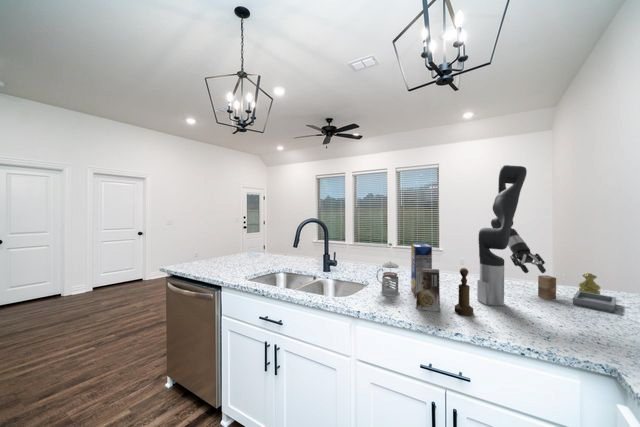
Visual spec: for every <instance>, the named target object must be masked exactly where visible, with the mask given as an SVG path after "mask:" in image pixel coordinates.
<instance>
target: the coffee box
mask: <svg viewBox="0 0 640 427" xmlns="http://www.w3.org/2000/svg"><path fill="white" fill-rule="evenodd" d="M415 298H416V301H415V302H416V305H415V306H416V309H418V310H423V311H424V310H425V311H432V312H440V311H441V310H440V309H441V308H440V307H441V305H440V300H441V295H440V269H439V268H438V269H436V268H432V269H426V268H417V270H416V297H415Z"/></svg>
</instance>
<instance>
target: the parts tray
mask: <svg viewBox="0 0 640 427" xmlns="http://www.w3.org/2000/svg"><path fill="white" fill-rule="evenodd" d="M616 305H617V298H616V296H611V295H603V294H600V295H599V294H593V293H587V292H581V291H579V290H577V291H576V292H575V294H574V296H573V297H572V306H577V307H582V308H587V309H593V310H597V311H603V312H608V313H613V314H615V310H616Z"/></svg>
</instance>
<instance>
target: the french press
mask: <svg viewBox="0 0 640 427" xmlns="http://www.w3.org/2000/svg"><path fill="white" fill-rule="evenodd" d="M388 246H389V247H391V246H393V244H392V242H390V243H388ZM382 267H383V268H387V269H397V268H399V265H398V264H397V263H395V262H391V261H388V262H386V263H385V262H384V263H383V264H381V268H379V269H378V270H377V271H376V276H375V277H376V280H377V282H379V283H380V284H381V290H380V294H381V295H382V296H387V297H398V296H400V295H401V292H400V291H399V276H398V273H397V272H393V271H385V272H384V269H383V268H382ZM380 271H381V272H383V273H382V274H383V275H382V278H381V279H382V281H380V280H379V278H378V277H379V272H380Z"/></svg>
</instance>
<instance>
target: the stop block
mask: <svg viewBox="0 0 640 427" xmlns="http://www.w3.org/2000/svg"><path fill="white" fill-rule="evenodd" d="M537 277H538V278H537V281H538V282H537V297H538V298H541V299H543V300H546V301H548V300H549V301H550V300H551V301H552V299H556V300H557V277H555V276H551V275H538V276H537Z"/></svg>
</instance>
